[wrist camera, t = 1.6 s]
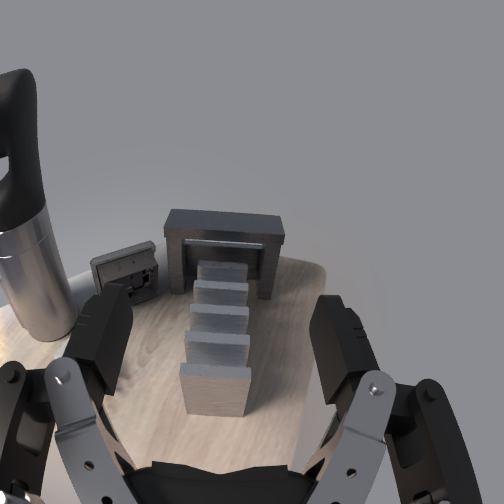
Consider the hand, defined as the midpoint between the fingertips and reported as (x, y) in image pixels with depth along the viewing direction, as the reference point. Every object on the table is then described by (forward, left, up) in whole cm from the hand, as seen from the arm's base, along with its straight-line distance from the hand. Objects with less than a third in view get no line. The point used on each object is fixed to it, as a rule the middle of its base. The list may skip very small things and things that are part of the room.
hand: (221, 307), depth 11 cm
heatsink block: (0, +13, -22) cm, 26 cm away
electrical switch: (-13, +22, -22) cm, 34 cm away
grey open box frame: (0, +25, -22) cm, 34 cm away
